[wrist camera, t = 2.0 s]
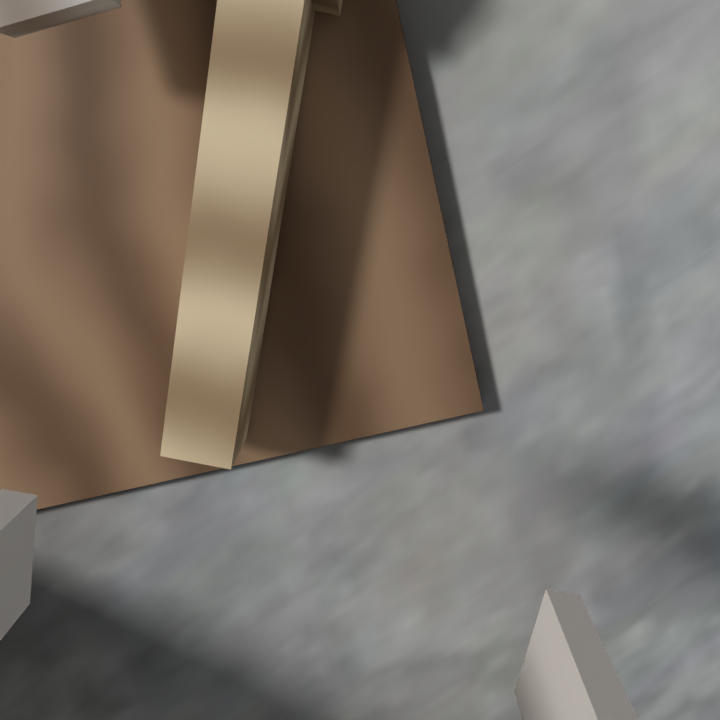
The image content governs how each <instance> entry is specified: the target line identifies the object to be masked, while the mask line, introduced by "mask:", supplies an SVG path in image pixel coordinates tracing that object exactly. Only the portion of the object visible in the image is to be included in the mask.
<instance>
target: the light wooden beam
mask: <svg viewBox="0 0 720 720" xmlns="http://www.w3.org/2000/svg"><path fill="white" fill-rule="evenodd" d="M342 2H343V0H217V6H216V14H215V22H214V30H213V38H212V46H211V54H210V62H209V70H208V78H207V86H206V94H205V102H204V110H203V118H202V126H201V134H200V142H199V150H198V158H197V166H196V174H195V182H194V190H193V198H192V206H191V214H190V221H189V229H188V237H187V245H186V253H185V261H184V269H183V277H182V285H181V293H180V301H179V309H178V317H177V325H176V333H175V341H174V349H173V357H172V365H171V373H170V381H169V389H168V397H167V405H166V413H165V421H164V429H163V437H162V445H161V453H160V456H163V457H168V458H173V459H178V460H184V461H189V462H194V463H199V464H205V465H210V466H215V467H220V468H226V469H231V468H232V466H233V464H234V462H235V460H236V458H237V456H238V454H239V452H240V450H241V448H242V446H243V444H244V442H245V440H246V438H247V432H248V426H249V419H250V413H251V407H252V401H253V395H254V388H255V382H256V376H257V370H258V364H259V357H260V351H261V345H262V339H263V333H264V326H265V320H266V314H267V308H268V302H269V295H270V289H271V283H272V277H273V270H274V264H275V258H276V252H277V246H278V239H279V233H280V227H281V221H282V215H283V208H284V202H285V196H286V190H287V184H288V177H289V171H290V165H291V159H292V153H293V146H294V140H295V134H296V128H297V122H298V115H299V109H300V103H301V97H302V90H303V84H304V78H305V72H306V66H307V59H308V53H309V47H310V41H311V35H312V28H313V22H314V16H315V11H319V12H324V13H329V14H333V15H338V16H340V14H341V8H342Z"/></svg>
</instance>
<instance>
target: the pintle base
mask: <svg viewBox="0 0 720 720" xmlns="http://www.w3.org/2000/svg"><path fill="white" fill-rule="evenodd" d="M216 6H217V0H0V490H1V489H6V490H12V491H17V492H23V493H28V494H34V495H38V496H37V509H42V508H46V507H51V506H55V505H60V504H64V503H69V502H73V501H78V500H82V499H87V498H91V497H96V496H101V495H105V494H110V493H114V492H119V491H123V490H128V489H132V488H137V487H141V486H146V485H150V484H155V483H159V482H164V481H168V480H173V479H177V478H182V477H186V476H191V475H195V474H200V473H204V472H209V471H213V470H218V469H222V468H220V467H215V466H210V465H205V464H199V463H194V462H189V461H184V460H178V459H173V458H168V457H163V456H160V453H161V445H162V437H163V429H164V421H165V413H166V405H167V397H168V389H169V381H170V373H171V365H172V357H173V349H174V341H175V333H176V325H177V317H178V309H179V301H180V293H181V285H182V277H183V269H184V261H185V253H186V245H187V237H188V229H189V221H190V214H191V206H192V198H193V190H194V182H195V174H196V166H197V158H198V150H199V142H200V134H201V126H202V118H203V110H204V102H205V94H206V86H207V78H208V70H209V62H210V54H211V46H212V38H213V30H214V22H215V14H216ZM479 411H484V410H483V405H482V401H481V396H480V391H479V387H478V382H477V377H476V373H475V368H474V363H473V359H472V354H471V349H470V344H469V340H468V335H467V330H466V326H465V321H464V316H463V312H462V307H461V302H460V298H459V293H458V288H457V284H456V279H455V274H454V270H453V265H452V260H451V255H450V251H449V246H448V241H447V237H446V232H445V227H444V223H443V218H442V213H441V209H440V204H439V199H438V195H437V190H436V185H435V181H434V176H433V171H432V166H431V162H430V157H429V152H428V148H427V143H426V138H425V134H424V129H423V124H422V120H421V115H420V110H419V106H418V101H417V96H416V92H415V87H414V82H413V77H412V73H411V68H410V63H409V59H408V54H407V49H406V45H405V40H404V35H403V31H402V26H401V21H400V17H399V12H398V7H397V3H396V0H343V2H342V8H341V14H340V16H338V15H333V14H329V13H324V12H319V11H315V16H314V22H313V28H312V35H311V41H310V47H309V53H308V59H307V66H306V72H305V78H304V84H303V90H302V97H301V103H300V109H299V115H298V122H297V128H296V134H295V140H294V146H293V153H292V159H291V165H290V171H289V177H288V184H287V190H286V196H285V202H284V208H283V215H282V221H281V227H280V233H279V239H278V246H277V252H276V258H275V264H274V270H273V277H272V283H271V289H270V295H269V302H268V308H267V314H266V320H265V326H264V333H263V339H262V345H261V351H260V357H259V364H258V370H257V376H256V382H255V388H254V395H253V401H252V407H251V413H250V419H249V426H248V432H247V438H246V440H245V442H244V444H243V446H242V448H241V450H240V452H239V454H238V456H237V458H236V460H235V462H234V464H233V466H236V465H240V464H245V463H249V462H254V461H258V460H263V459H267V458H272V457H276V456H281V455H285V454H290V453H295V452H299V451H304V450H308V449H313V448H317V447H322V446H326V445H331V444H335V443H340V442H344V441H349V440H353V439H358V438H362V437H367V436H371V435H376V434H380V433H385V432H389V431H394V430H398V429H403V428H407V427H412V426H416V425H421V424H425V423H430V422H434V421H439V420H443V419H448V418H452V417H457V416H461V415H466V414H470V413H475V412H479Z"/></svg>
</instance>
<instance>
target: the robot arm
mask: <svg viewBox="0 0 720 720" xmlns="http://www.w3.org/2000/svg"><path fill="white" fill-rule="evenodd" d="M37 496H38V495H34V494H28V493H23V492H17V491H12V490H6V489H1V490H0V641H1V639H2V638H3V637H4V636H5V634H6V633H7V632H8V631H9V629H10V628H11V627H12V626H13V624H14V623H15V622H16V621H17V619H18V618H19V617H20V616H21V614H22V613H23V612H24V611H25V609H26V608H27V607H28V606H29V604H30V596H31V582H32V567H33V553H34V539H35V524H36V510H37ZM515 693H516V697H517V701H518V705H519V709H520V713H521V717H522V720H638V718H637V716H636V714H635V711H634V709H633V707H632V705H631V703H630V701H629V699H628V697H627V694H626V692H625V690H624V688H623V686H622V684H621V682H620V680H619V677H618V675H617V673H616V671H615V669H614V667H613V665H612V663H611V660H610V658H609V656H608V654H607V652H606V650H605V648H604V645H603V643H602V641H601V639H600V637H599V635H598V633H597V631H596V628H595V626H594V624H593V622H592V620H591V618H590V616H589V614H588V611H587V609H586V607H585V605H584V603H583V601H582V599H581V596H580V595H576V594H571V593H566V592H560V591H555V590H549V589H546V590H545V594H544V597H543V600H542V604H541V607H540V610H539V613H538V617H537V620H536V623H535V627H534V630H533V633H532V636H531V640H530V643H529V646H528V650H527V653H526V656H525V659H524V663H523V666H522V669H521V673H520V676H519V679H518V682H517V686H516V689H515Z"/></svg>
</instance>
